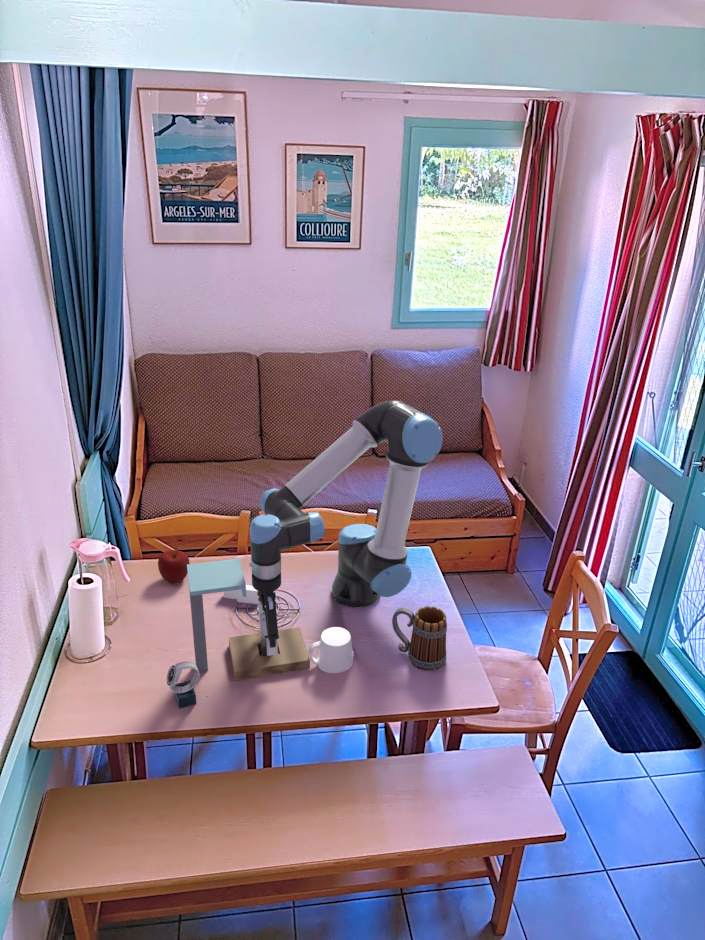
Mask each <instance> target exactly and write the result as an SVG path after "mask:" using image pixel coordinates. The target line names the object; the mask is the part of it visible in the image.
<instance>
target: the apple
mask: <svg viewBox="0 0 705 940" xmlns="http://www.w3.org/2000/svg"><path fill="white" fill-rule="evenodd" d="M187 564H190V558H189V556H188V555H187V554H186V552H184V551H181V550H179V549H171V550H166V551H165V552H163V553H162V554H160V556H159V558H158V560H157V566H158V571H159V574H160V576H161V577H162V579H163V580H164V581H165V582H167V583H168V584H171V585H177V584H179V583H182V582H183V581H184V580H185V579H186V577H187V576H188V570H187Z"/></svg>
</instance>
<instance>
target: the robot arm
mask: <svg viewBox="0 0 705 940" xmlns="http://www.w3.org/2000/svg"><path fill="white" fill-rule="evenodd" d="M443 439H444V438H443V431H442V427H440V425H439V424H438V422H437V421H435V420H434V419H433V418H432V417H431V416H430V415H428V414H427V413H423V412H422V411H419V410H417V409H416V408H414V407H413V406H411V405H409V404H408V403H406V402H405V401H402V400H396V399H395V400H394V399H393V400H386V401H383V402H380V403H378V404H376V405H373V406H371V407H370V408H368V409H367V410H365V411H364V412H362V413H361V414H360V415H359V416H357V417H356V418H355V419H354V420H353V421H352V426H351V427H350V428H349V429H348V430H347V431H346V432H344V433H343V434H342V435H341V436H340V437H339V438H337V440H335V441H334V442H333V443H331V444H330V446H328V447H327V448H326V449H325V450H324V451H323V452H321V453H320V454H319V455H318V456H317V457H316V458H314V460H312V461H311V462H310V463H309V464H307V466H306V467H304V468H303V469H302V470H301V471H300V472H299V473H297V474H296V475H295V476H294V477H292V478H291V479H290V480H289V481H288V482H287V483H286V484H285V485H284V486H282V487H281V488H280V489H279V488H274V487H273V488H270V489H267V490H266V491H264V492H263V493H262V495H261V497H260V500H259V506H260V510H261V511H262V512H263V514H260V515H257V516H255V517H254V518H253V519H252V520H251V521H250V527H249V541H250V542H249V543H250V557H251V560H250V562H249V563H248V567H250V568H251V586H253V587H254V589H256V590H257V591H258V592H257V595H258V596H259V598H258V601H259V602H260V603H259V604H258V620H259V621H258V622H259V623H258V624H260V614H261V613H263V612H265V618H266V627H267V634H266V636H265V638H267V656H270V655H277V654H278V645H277V639H279V635H278V630H279V627H278V625H279V624H278V616H277V615H278V614H277V601H276V598H277V595H276V592H275V591H276V590H278V589H279V588H280V587H281V585H282V551H286V550H288V549H292V548H295V547H299V546H302V545H303V546H304V545H307V544H312V543H313V542H315V541H316V542H317V541H318V540H321V539H323V537H324V535H325V531H326V530H325V528H326V527H325V522H324V519H323V517H322V515H320V513H319V512H317V511H308V512H306V513H305V512H304V511H303V510H302V508H303V506H305V505H306V504H307V503H308V502H309V501H310V500H311V499H312V498H314V497H315V496H316V495H318V493H320V492H321V491H322V490H323V489H324V488H325V487H326V486H327V485H329V484H330V483H331V482H332V481H333V480H334V479H336V478H337V477H338V476H339V475H340V474H342V473H343V472H344V471H345V470H346V469H347V468H348V467H349V466H351V465H352V464H353V463H354V462H356V460H357V459H359V458H360V457H361V456H363V454H364V453H366V451H368V450H369V449H370V448H377V447H378V446H379V445H380V444H382V443H383V442H386V443H387V449H386V454H385V457H386V459H387V460H388V462H389V467H388V471H387V477H386V482H385V487H384V491H383V496H382V500H381V506H380V509H379V510H380V511H379V516H378V521H377V525H376V527H375V526H373V525H370V524H366V523H354V524H349V525H346V526H344V527H343V528H342V529H341V530H340V531H339V534H338V540H337V543H338V547H337V548H338V551H337V552H338V553H337V554H338V556H337V558H338V559H337V560H338V561H337V572H336V575H335V578H334V580H333V582H332V584H331V596H332V598H333V599H334V600H335V601H336V602H337V603H338V604H341V605H342V606H345V607H349V608H359V609H360V608H365V607H369V606H372V605H374V604H375V603H377V602H378V600H379V599H380V597H382V598H391V597H395V596H397V595H398V594H399V593H401V592H402V591H404V590H405V588H406V587H407V586H408V585H409V584H410V581H411V579H412V570H411V568H410V566H409V565H408V564H407V559H408V555H409V549H408V548H407V547H406V545H405V543H406V539H407V534H408V531H409V530H408V529H409V525H410V521H411V517H412V511H413V509H414V508H413V507H414V503H415V498H416V495H417V491H418V485H419V481H420V476H421V472H422V469H424V468H427V466H428V465H429V462H431V461H432V460H434V459H435V458H436V455H438V454H439V453H440V451H441V448H442V446H443Z"/></svg>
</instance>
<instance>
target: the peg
mask: <svg viewBox="0 0 705 940" xmlns="http://www.w3.org/2000/svg"><path fill="white" fill-rule="evenodd" d="M259 629H260V632H259V633H260V635H261V652H260V657H262V656H267V638H265V636H266V634H267V627H266V618H265V612H263V613H261V614H260V623H259Z"/></svg>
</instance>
